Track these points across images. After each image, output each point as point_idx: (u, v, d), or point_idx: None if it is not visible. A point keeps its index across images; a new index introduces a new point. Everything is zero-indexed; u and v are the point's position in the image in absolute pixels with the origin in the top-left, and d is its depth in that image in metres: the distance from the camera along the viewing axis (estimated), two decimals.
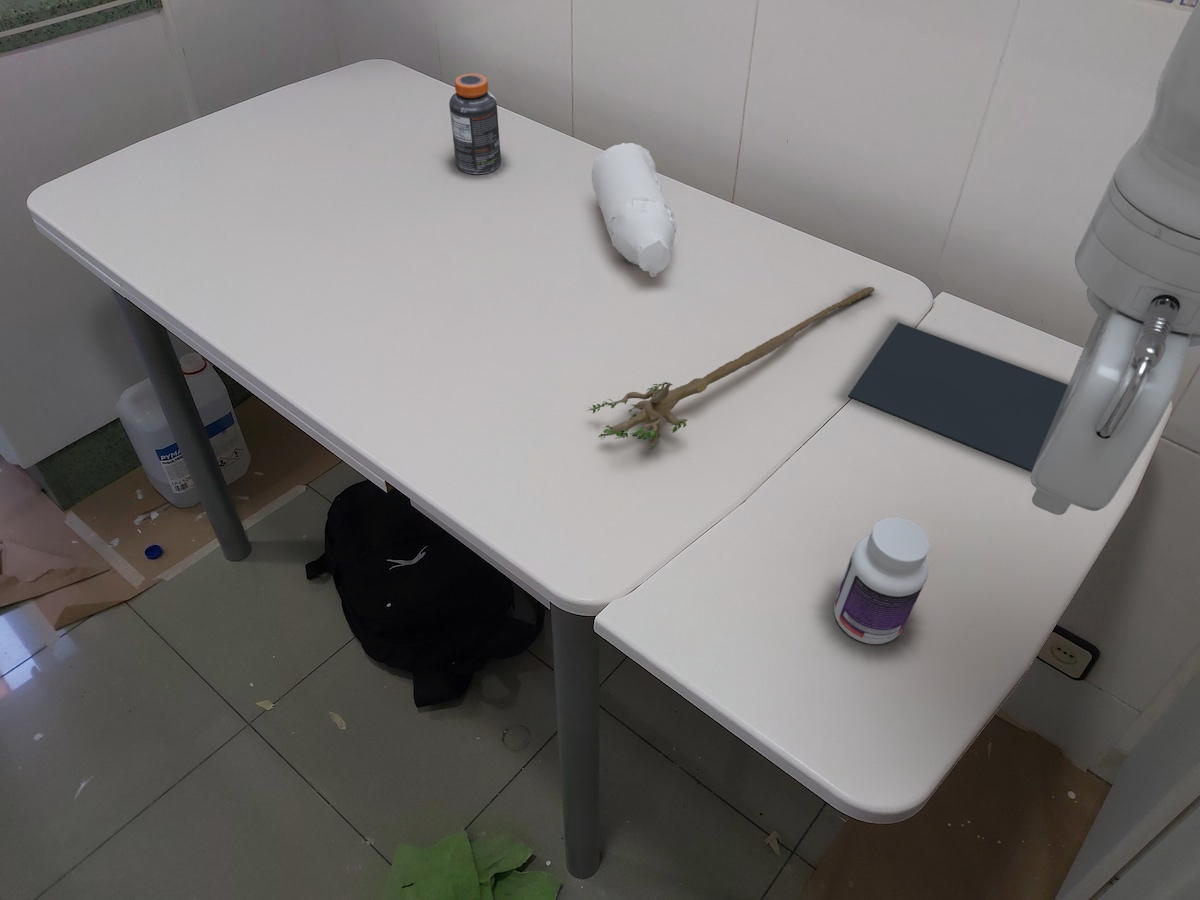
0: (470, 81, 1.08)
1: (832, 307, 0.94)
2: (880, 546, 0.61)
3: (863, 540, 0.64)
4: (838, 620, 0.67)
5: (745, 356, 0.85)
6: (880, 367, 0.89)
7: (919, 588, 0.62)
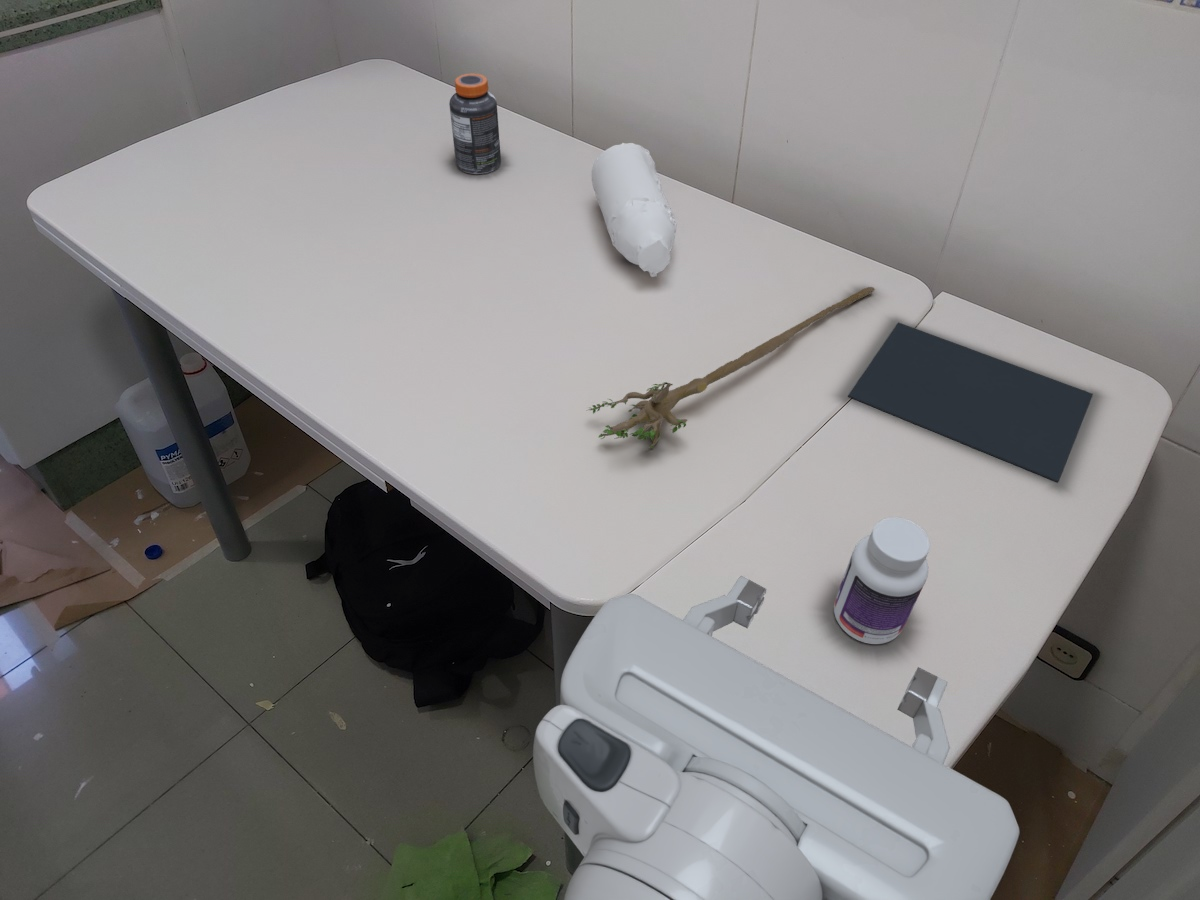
0: (471, 81, 1.08)
1: (832, 307, 0.94)
2: (880, 546, 0.61)
3: (863, 540, 0.64)
4: (838, 620, 0.67)
5: (745, 356, 0.85)
6: (880, 367, 0.89)
7: (919, 588, 0.62)
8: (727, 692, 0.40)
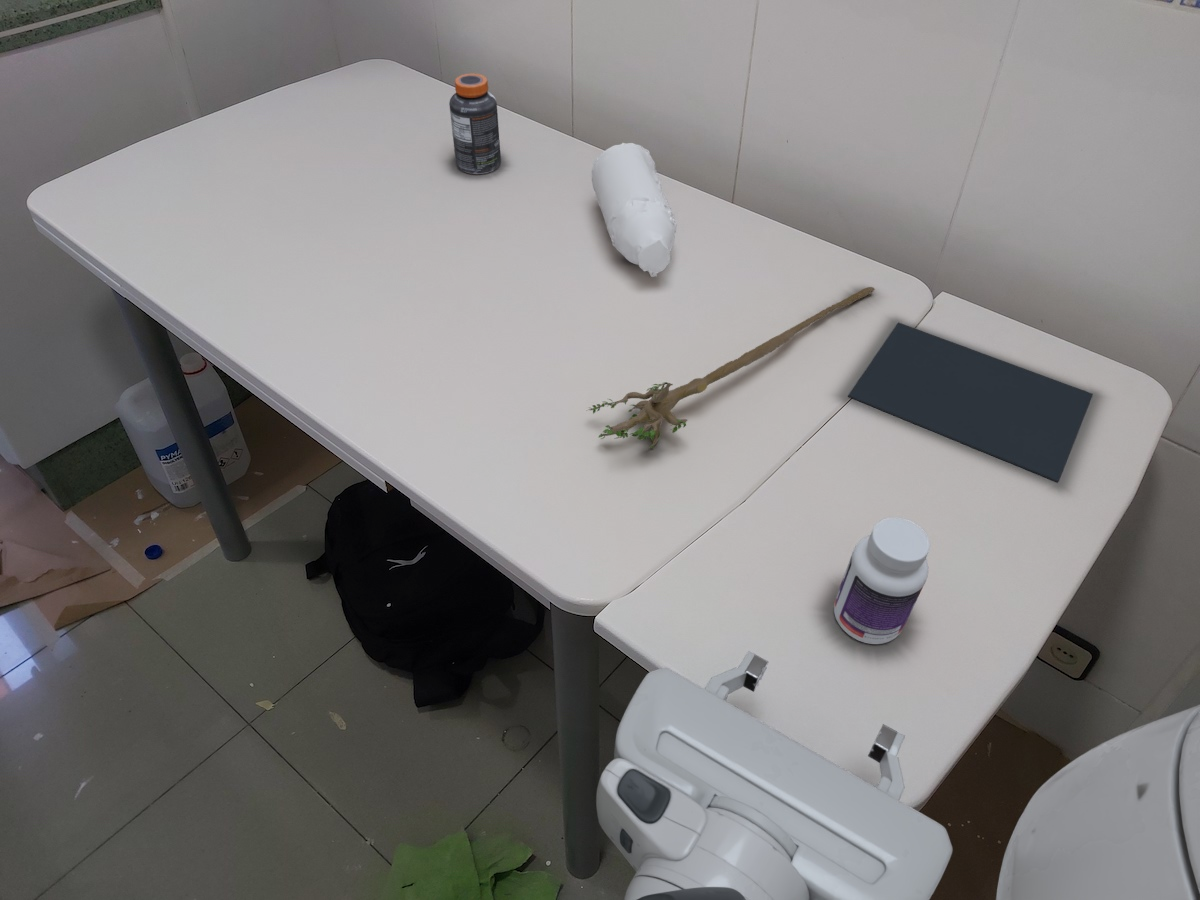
0: (471, 81, 1.08)
1: (832, 307, 0.94)
2: (880, 546, 0.61)
3: (863, 540, 0.64)
4: (838, 620, 0.67)
5: (745, 356, 0.85)
6: (880, 367, 0.89)
7: (919, 588, 0.62)
8: (739, 745, 0.53)
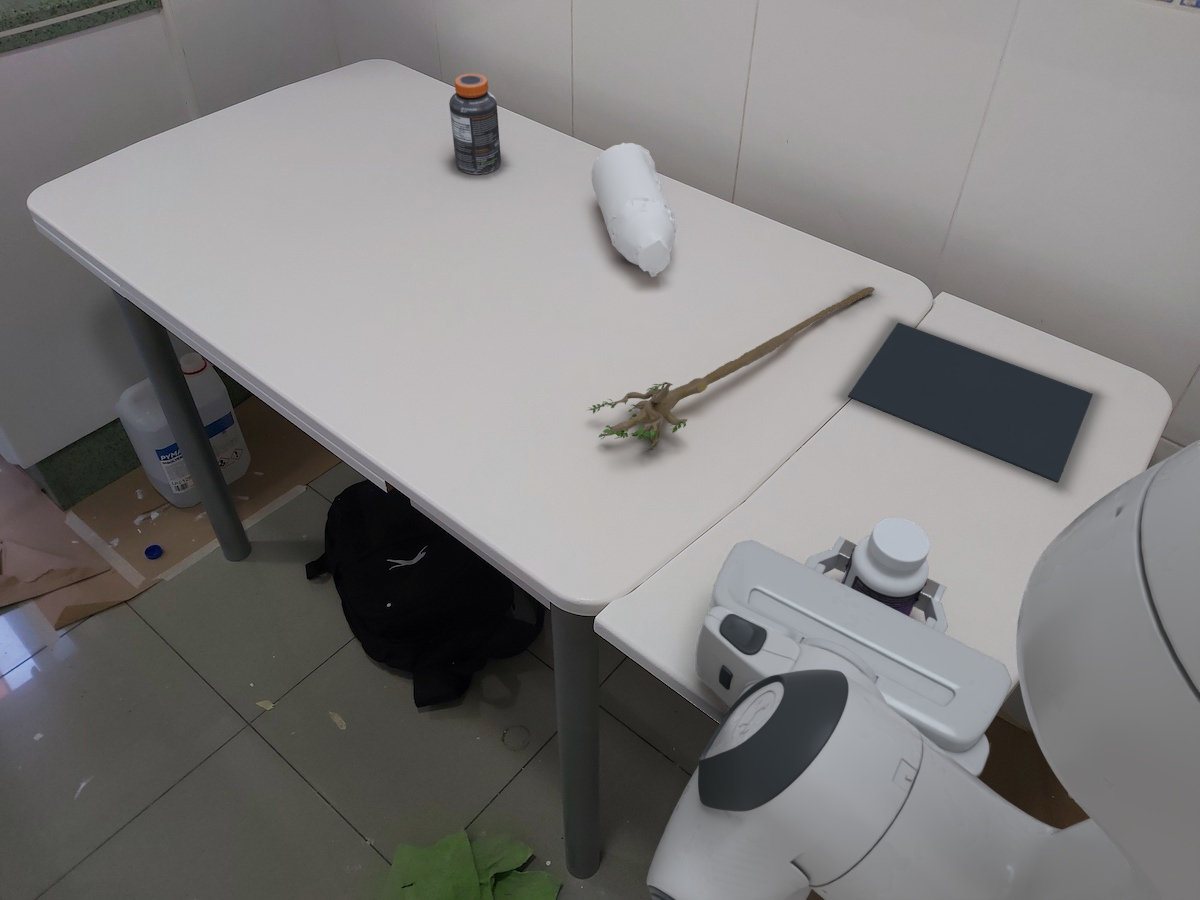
0: (471, 81, 1.08)
1: (832, 307, 0.94)
2: (880, 546, 0.61)
3: (863, 540, 0.64)
4: None
5: (745, 356, 0.85)
6: (880, 367, 0.89)
7: (919, 588, 0.62)
8: (821, 600, 0.61)
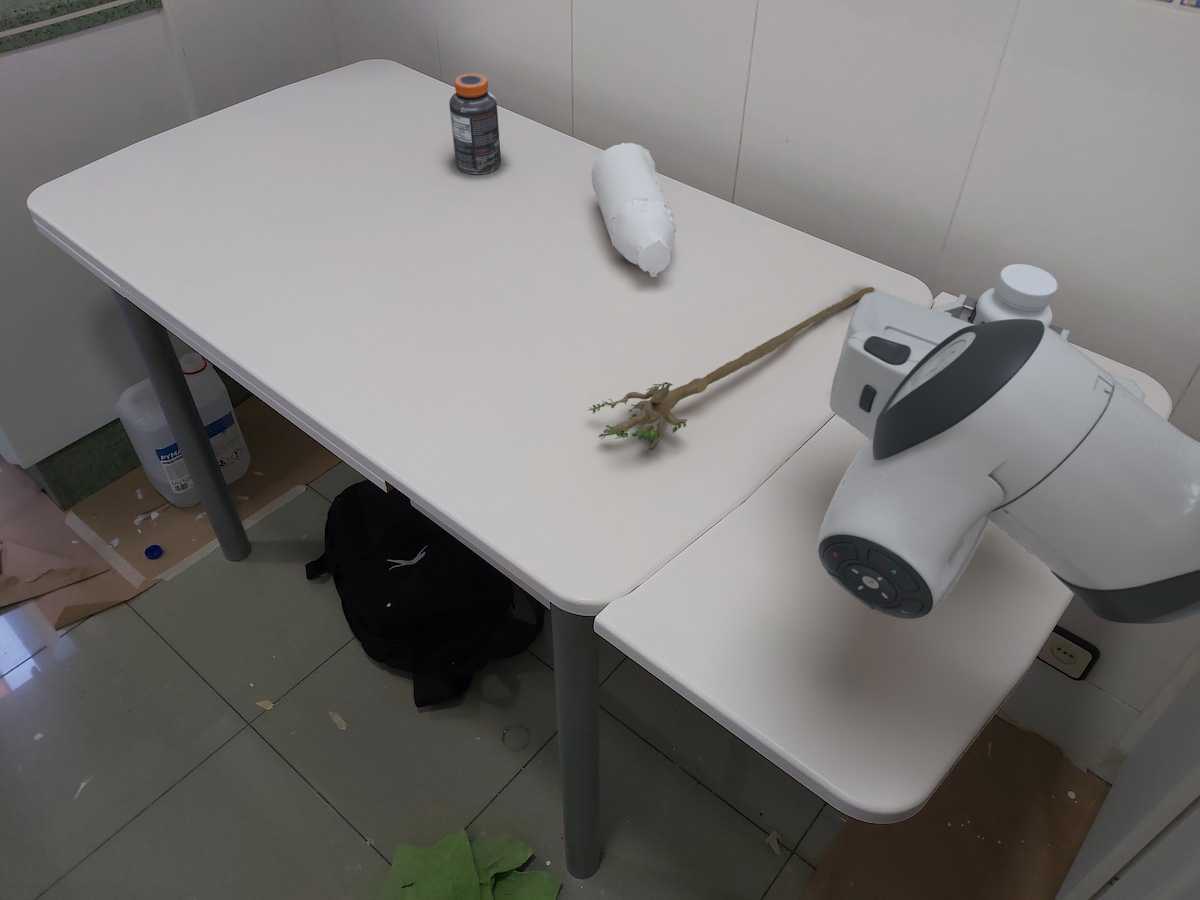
0: (471, 81, 1.08)
1: (832, 307, 0.94)
2: (1010, 284, 0.63)
3: (987, 291, 0.67)
4: None
5: (745, 356, 0.85)
6: None
7: None
8: None
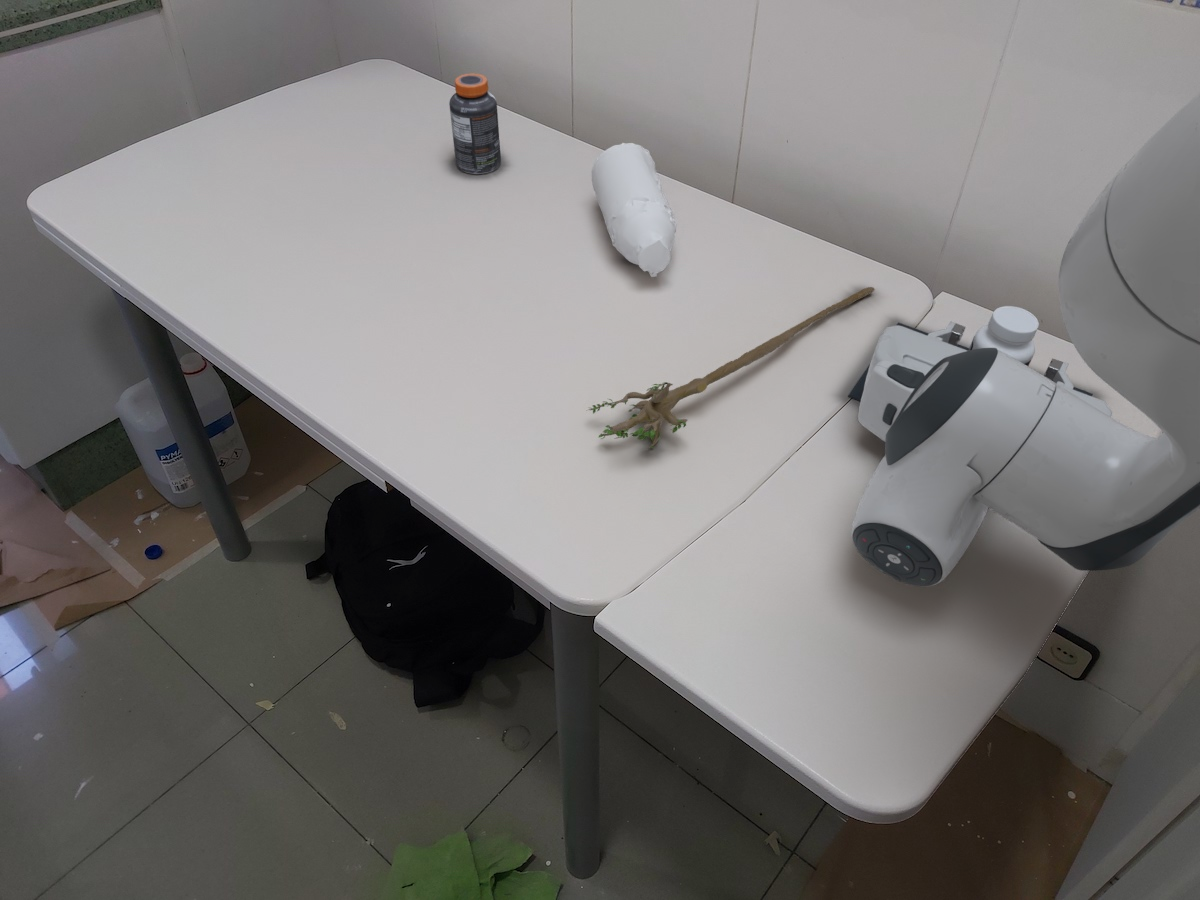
0: (471, 81, 1.08)
1: (832, 307, 0.94)
2: (1000, 323, 0.78)
3: (982, 327, 0.82)
4: None
5: (745, 356, 0.85)
6: None
7: (1029, 359, 0.80)
8: None
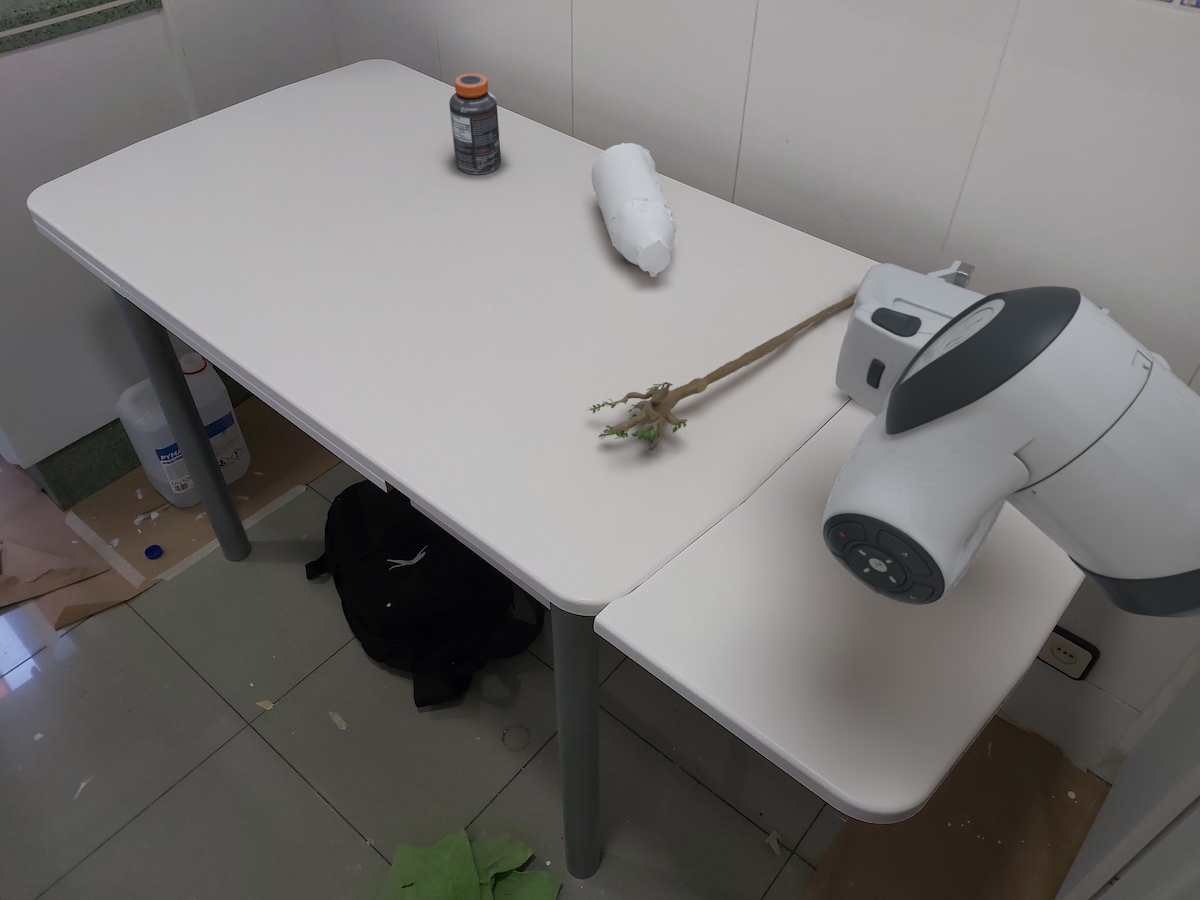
0: (471, 81, 1.08)
1: (832, 307, 0.94)
2: None
3: None
4: None
5: (745, 356, 0.85)
6: None
7: None
8: (967, 306, 0.60)
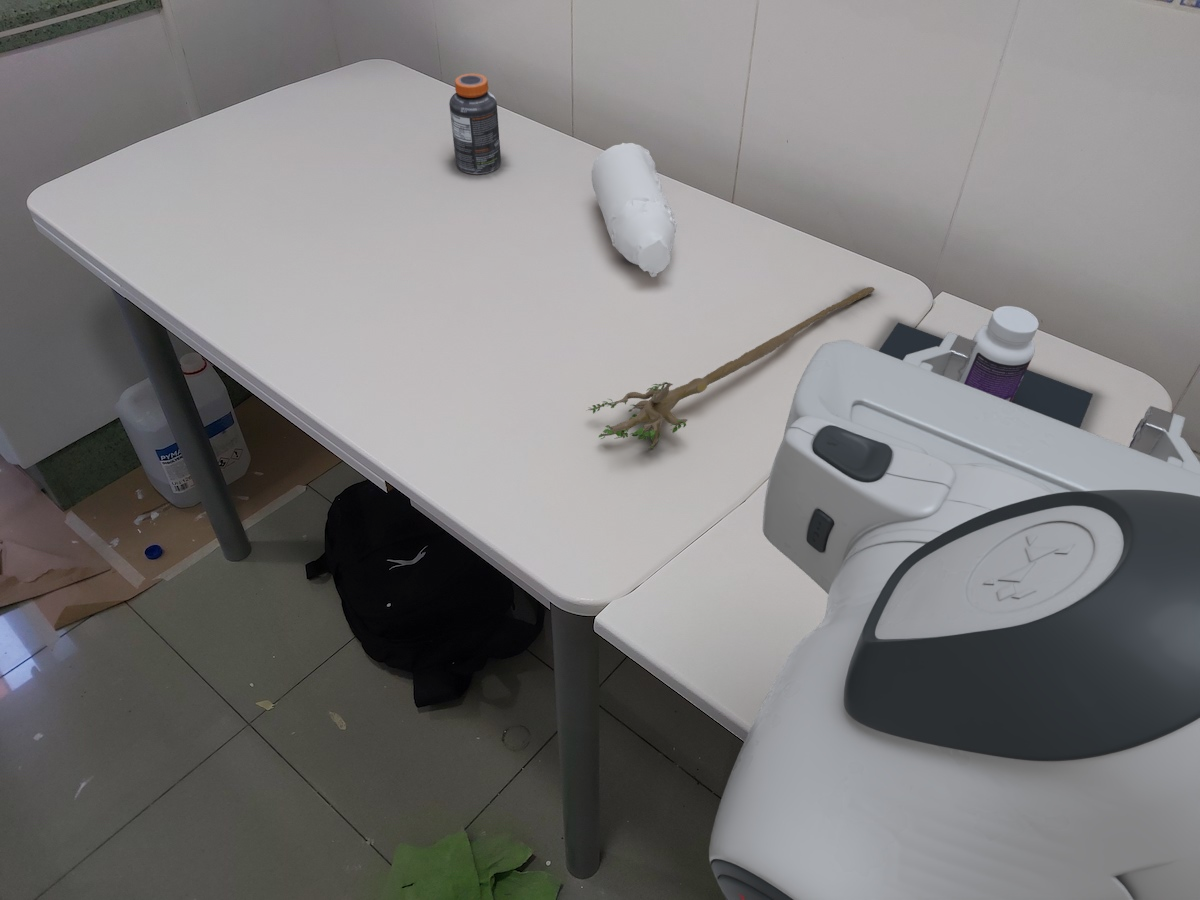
0: (471, 81, 1.08)
1: (832, 307, 0.94)
2: (1000, 323, 0.78)
3: (982, 327, 0.82)
4: None
5: (745, 356, 0.85)
6: None
7: (1029, 359, 0.80)
8: (966, 416, 0.38)
